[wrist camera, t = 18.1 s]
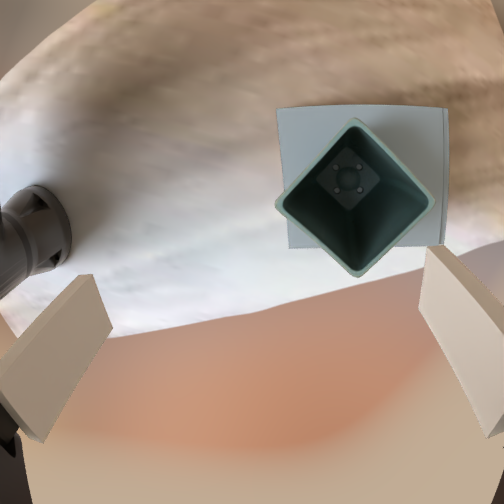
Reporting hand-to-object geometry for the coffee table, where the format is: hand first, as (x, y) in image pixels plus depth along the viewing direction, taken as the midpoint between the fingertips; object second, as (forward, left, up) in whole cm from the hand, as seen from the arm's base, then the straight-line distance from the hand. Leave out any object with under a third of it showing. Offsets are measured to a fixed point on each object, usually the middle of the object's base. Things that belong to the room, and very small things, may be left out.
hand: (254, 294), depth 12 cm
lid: (+10, 0, -23) cm, 25 cm away
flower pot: (+7, 0, -21) cm, 22 cm away
